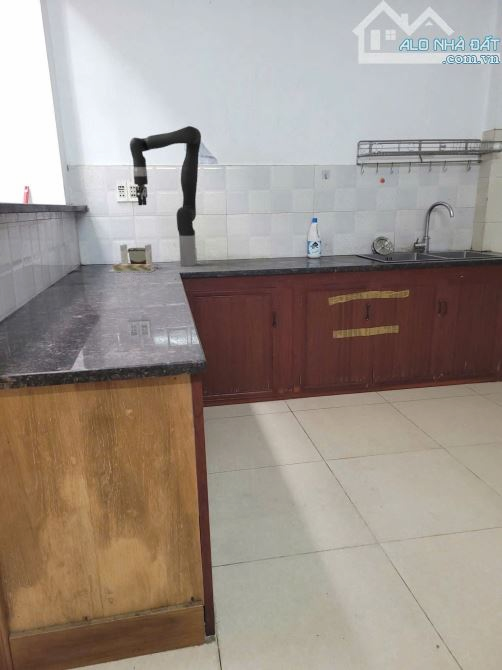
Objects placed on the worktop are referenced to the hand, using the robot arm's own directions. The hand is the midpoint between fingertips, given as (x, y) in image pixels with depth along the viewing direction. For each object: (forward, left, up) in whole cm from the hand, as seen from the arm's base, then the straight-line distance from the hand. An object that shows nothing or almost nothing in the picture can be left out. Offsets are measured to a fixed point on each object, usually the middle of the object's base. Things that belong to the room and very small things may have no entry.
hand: (142, 205), depth 274 cm
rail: (+1, +26, -34) cm, 43 cm away
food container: (+3, +4, -34) cm, 35 cm away
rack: (+1, +16, -34) cm, 38 cm away
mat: (+1, +26, -34) cm, 43 cm away
